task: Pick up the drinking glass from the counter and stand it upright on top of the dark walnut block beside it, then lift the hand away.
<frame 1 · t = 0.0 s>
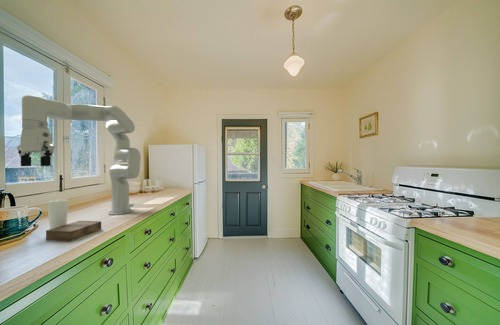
hand: (35, 166, 82), 31 cm above the table, tool pointing down, fingers open, 9 cm apart
walnut block: (75, 234, 87), on the table
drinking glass: (58, 232, 90), on the table
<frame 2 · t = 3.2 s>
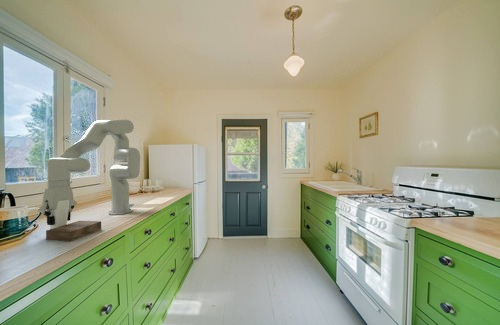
hand: (59, 222, 91), 5 cm above the table, tool pointing down, fingers closed on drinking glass, 6 cm apart
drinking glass: (58, 232, 90), on the table, touching gripper
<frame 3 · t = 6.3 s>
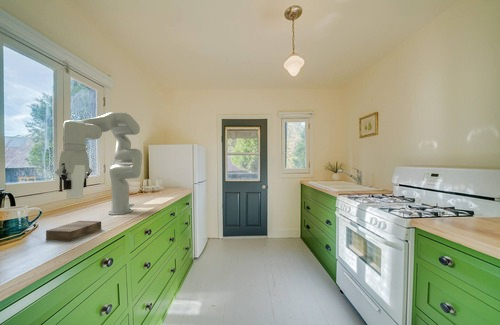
hand: (75, 187, 87), 21 cm above the table, tool pointing down, fingers closed on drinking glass, 6 cm apart
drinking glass: (74, 198, 87), point 16 cm above the table, touching gripper
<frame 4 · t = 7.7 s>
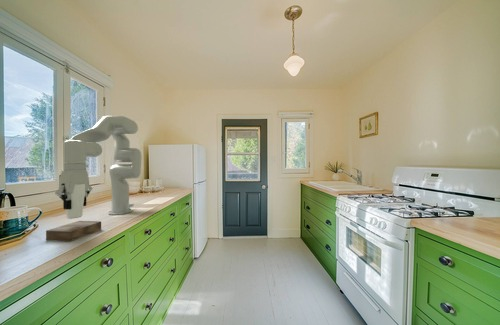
hand: (75, 207, 87), 12 cm above the table, tool pointing down, fingers closed on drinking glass, 6 cm apart
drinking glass: (74, 217, 87), point 8 cm above the table, touching gripper
when the fingers open (10 cm above the table, at t = 9.1 s): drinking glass drops 1 cm, resting on walnut block.
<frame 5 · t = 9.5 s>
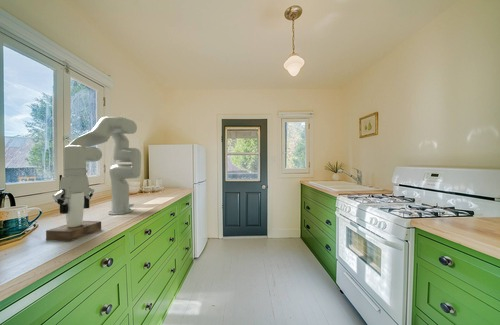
hand: (75, 210, 87), 11 cm above the table, tool pointing down, fingers open, 9 cm apart
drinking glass: (74, 226, 87), point 4 cm above the table, touching walnut block
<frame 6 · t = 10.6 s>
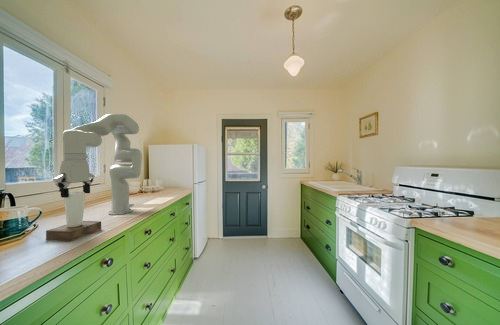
hand: (76, 195, 88), 18 cm above the table, tool pointing down, fingers open, 9 cm apart
nothing on the table moved.
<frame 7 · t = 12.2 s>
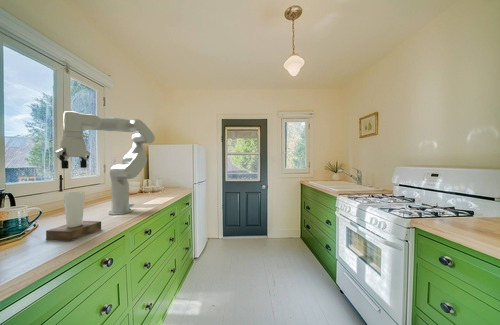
hand: (74, 168, 102), 30 cm above the table, tool pointing down, fingers open, 9 cm apart
nothing on the table moved.
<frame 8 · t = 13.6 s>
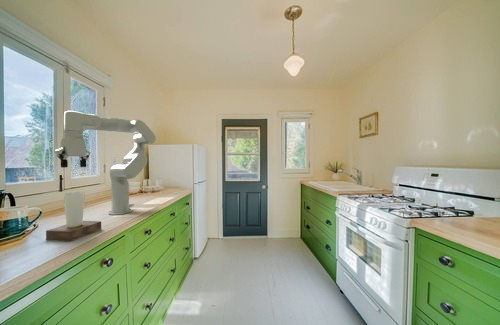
hand: (74, 167, 102), 30 cm above the table, tool pointing down, fingers open, 9 cm apart
nothing on the table moved.
at the end: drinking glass inside the target area on the walnut block (0.8 cm from its centre), point 3.8 cm above the walnut block's base; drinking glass tilted 0°; the gripper is holding nothing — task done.
